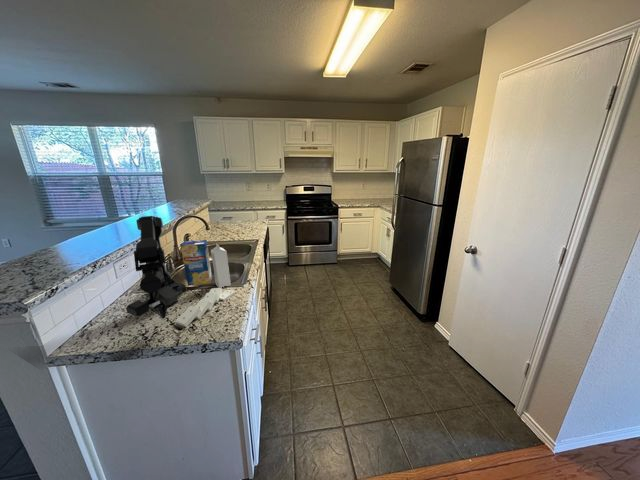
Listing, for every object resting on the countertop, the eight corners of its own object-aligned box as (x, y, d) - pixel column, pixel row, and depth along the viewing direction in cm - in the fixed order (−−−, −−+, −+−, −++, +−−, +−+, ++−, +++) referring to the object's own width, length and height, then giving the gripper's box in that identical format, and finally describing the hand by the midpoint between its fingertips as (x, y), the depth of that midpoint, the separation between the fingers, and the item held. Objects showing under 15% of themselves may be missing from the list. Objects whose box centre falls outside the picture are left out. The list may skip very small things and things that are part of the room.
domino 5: (215, 296, 119) (227, 289, 126) (216, 300, 119) (228, 292, 126) (224, 298, 117) (235, 290, 124) (224, 302, 117) (236, 294, 124)
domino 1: (175, 320, 100) (190, 305, 106) (177, 323, 101) (192, 308, 107) (184, 323, 98) (199, 307, 104) (186, 327, 99) (201, 311, 105)
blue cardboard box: (210, 283, 134) (204, 243, 128) (187, 285, 132) (180, 245, 125) (212, 277, 141) (206, 239, 134) (190, 280, 138) (183, 241, 132)
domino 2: (187, 313, 105) (200, 298, 111) (189, 316, 106) (202, 301, 112) (197, 316, 103) (209, 300, 109) (199, 319, 104) (211, 303, 110)
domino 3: (205, 300, 114) (210, 288, 121) (206, 303, 115) (212, 291, 122) (216, 299, 114) (221, 287, 121) (217, 302, 115) (222, 290, 122)
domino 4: (197, 306, 110) (206, 292, 116) (199, 309, 111) (208, 295, 117) (208, 307, 109) (217, 293, 115) (210, 310, 110) (218, 295, 116)
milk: (219, 288, 129) (212, 247, 122) (215, 284, 133) (209, 244, 126) (231, 285, 132) (225, 245, 125) (227, 281, 137) (222, 242, 130)
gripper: (142, 297, 78) (153, 340, 82) (193, 273, 94) (200, 309, 99) (120, 290, 82) (131, 331, 87) (172, 268, 98) (179, 303, 103)
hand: (163, 318), depth 94 cm, fingers closed
